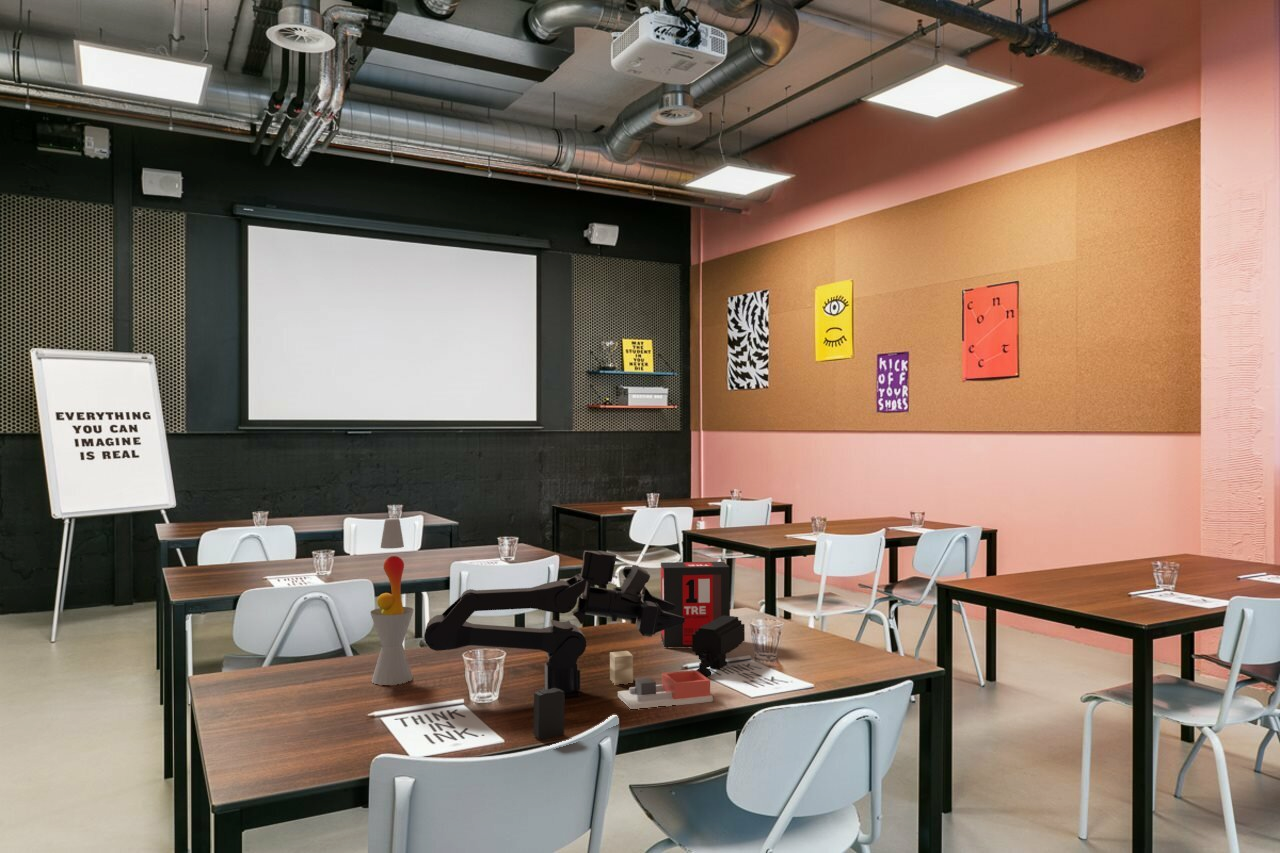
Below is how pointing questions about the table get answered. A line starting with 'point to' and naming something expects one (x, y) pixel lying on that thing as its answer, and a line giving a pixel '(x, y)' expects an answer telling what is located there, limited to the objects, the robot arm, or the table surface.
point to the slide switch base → (672, 691)
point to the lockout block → (621, 667)
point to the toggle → (645, 686)
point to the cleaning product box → (694, 597)
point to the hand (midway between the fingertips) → (679, 613)
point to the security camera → (717, 642)
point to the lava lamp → (392, 615)
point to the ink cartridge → (549, 713)
